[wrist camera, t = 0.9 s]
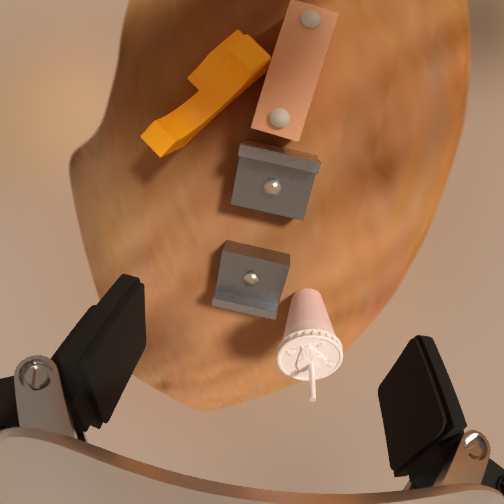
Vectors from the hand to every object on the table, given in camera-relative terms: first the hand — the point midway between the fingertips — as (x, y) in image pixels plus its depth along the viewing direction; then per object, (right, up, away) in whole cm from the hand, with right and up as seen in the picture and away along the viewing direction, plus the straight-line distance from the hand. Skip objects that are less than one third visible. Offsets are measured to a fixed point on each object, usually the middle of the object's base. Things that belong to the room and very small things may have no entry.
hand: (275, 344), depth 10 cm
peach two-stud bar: (+3, +20, +16) cm, 25 cm away
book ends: (0, +6, +23) cm, 23 cm away
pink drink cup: (+6, -3, +26) cm, 27 cm away
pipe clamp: (-5, +19, +17) cm, 26 cm away
